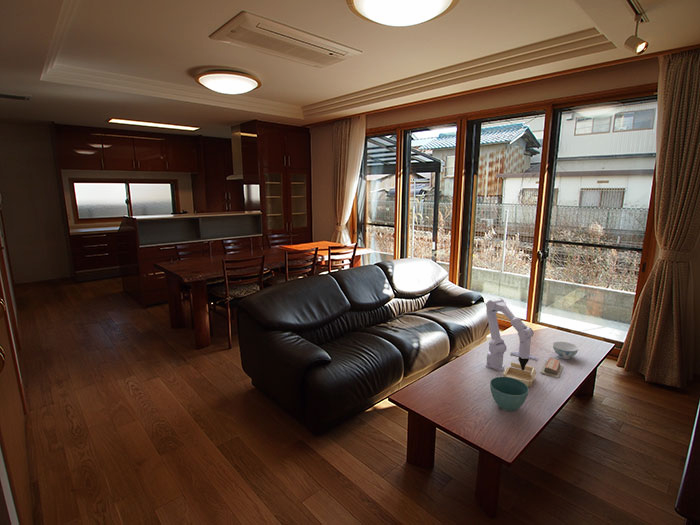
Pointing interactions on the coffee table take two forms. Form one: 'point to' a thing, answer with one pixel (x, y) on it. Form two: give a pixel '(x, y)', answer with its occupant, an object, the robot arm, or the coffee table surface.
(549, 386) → the coffee table surface
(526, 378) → the carton
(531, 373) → the far flap
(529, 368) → the left flap
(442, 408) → the coffee table surface
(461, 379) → the coffee table surface
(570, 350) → the chinaware
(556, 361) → the packaged product
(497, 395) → the teal green bowl
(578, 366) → the coffee table surface
